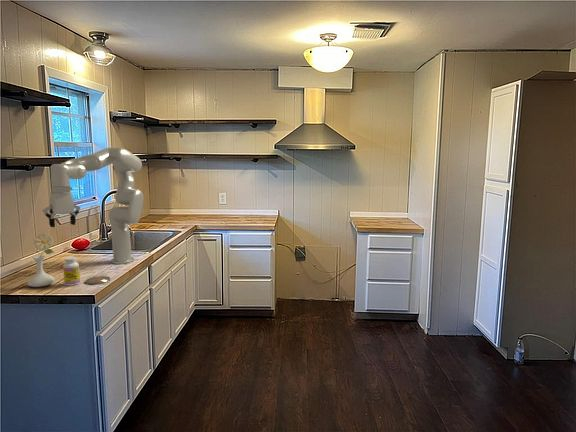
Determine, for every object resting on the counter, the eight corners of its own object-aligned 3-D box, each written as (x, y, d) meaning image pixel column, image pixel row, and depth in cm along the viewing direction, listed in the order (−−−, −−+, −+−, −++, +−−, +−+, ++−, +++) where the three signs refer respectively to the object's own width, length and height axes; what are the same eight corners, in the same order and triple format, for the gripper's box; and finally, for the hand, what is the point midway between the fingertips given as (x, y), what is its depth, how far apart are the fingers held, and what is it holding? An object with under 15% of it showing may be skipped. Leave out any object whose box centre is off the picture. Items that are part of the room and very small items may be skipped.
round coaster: (92, 277, 209) (92, 275, 209) (114, 277, 209) (114, 276, 209) (81, 284, 198) (80, 282, 198) (103, 284, 198) (103, 283, 198)
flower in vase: (22, 289, 191) (17, 236, 187) (35, 281, 203) (30, 231, 199) (52, 288, 192) (47, 235, 188) (63, 280, 204) (58, 230, 200)
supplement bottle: (64, 287, 195) (61, 260, 193) (65, 282, 201) (63, 257, 199) (79, 285, 197) (77, 259, 195) (80, 281, 203) (78, 255, 201)
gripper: (74, 188, 207) (76, 223, 209) (37, 190, 193) (40, 227, 195) (83, 189, 202) (84, 224, 205) (45, 191, 188) (48, 228, 191)
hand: (62, 225), depth 200 cm, fingers open, 9 cm apart
